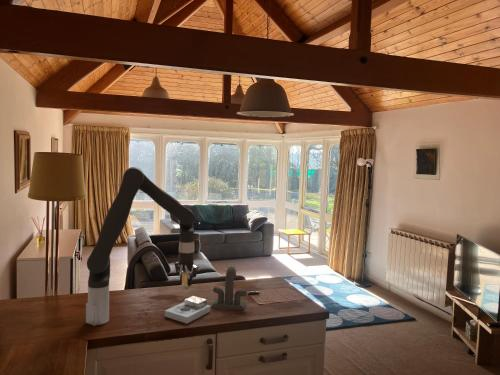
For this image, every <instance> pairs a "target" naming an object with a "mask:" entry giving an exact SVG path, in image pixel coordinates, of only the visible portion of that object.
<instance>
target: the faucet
mask: <svg viewBox="0 0 500 375" xmlns="http://www.w3.org/2000/svg"><path fill="white" fill-rule="evenodd" d="M225 272H226V273H225V280H224V290H223V289H222V288H221V287H219V286H214V287H213V289H212V291H213V293H216V294H217V299H214V300H213V303H212V304H211V305H210V309H219V310H220V309H221V310H235V311H245V308H246V306H247V305H246V304H247V303H246V301H242V300H241V297H247V293H248V292H247V291H248V290H247V289H238V290H236V291H235V293H234V283H235V282H234V281H235V278H236V277H237V270H236V268H235V267H234V266H231V265H230V266H229V267H227V269H226V271H225Z"/></svg>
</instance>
